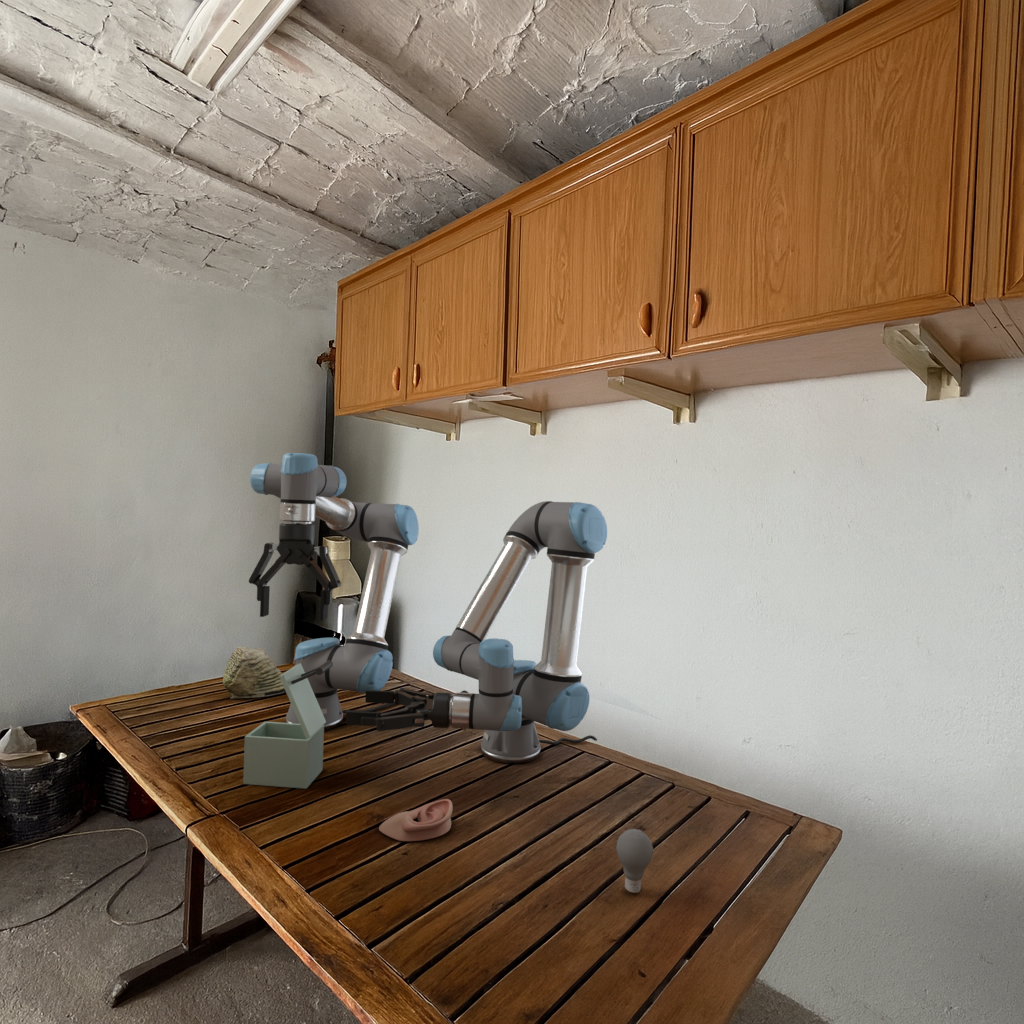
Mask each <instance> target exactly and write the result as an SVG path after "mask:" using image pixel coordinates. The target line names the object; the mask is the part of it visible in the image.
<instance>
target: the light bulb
mask: <svg viewBox="0 0 1024 1024" xmlns="http://www.w3.org/2000/svg"><path fill="white" fill-rule="evenodd" d="M615 849H616V854H617V857H618V859H619V861H620V863H621V865H622V867H623V873H624V874H623V875H624V876H625V878H624V888H625V890H627V891H628V892H630V893H634V894H635V893H639V892H640V891H641V889H642V887H641V886H642V879H643V877H644V875H645V871H646V868H647V867H648V866H649V864H650V863H651V861H652V859H653V855H654V847H653V843H652V841H651V838H649V836H648V835H647V834H646V833H645V832H643V831H642V830H641V829H636V828H629V829H627V830H625V831H623V832H622V833H621V834H620V835H619V837H618V839H617V841H616V847H615Z"/></svg>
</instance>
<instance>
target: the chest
mask: <svg viewBox="0 0 1024 1024" xmlns="http://www.w3.org/2000/svg"><path fill="white" fill-rule="evenodd" d="M324 740H325V731H324V725H323V726H322V727H321V728H320V729H319V730H317V731H316V732H315V733H314V734H313V735H312V736H311V737H310V738H308V739H306V737H305V735H304V733H303V730H302V728H301V726H300V724H295V723H286V722H278V721H263V722H262V723H261V724H260V725H258V726H257V727H256V728H254V729H252V731H250V732H249V733H248V734H246V735H245V736H244V747H243V748H244V753H243V775H242V776H243V778H242V779H243V781H242V784H243V785H251V786H267V787H279V788H292V789H294V788H295V789H308V788H309V786H310V785H311V784H312V783H313V782H314V781H315V780H316V779H317V777H318V776H319V775H320V774H321V773H322V771H323V767H324V743H325V742H324Z"/></svg>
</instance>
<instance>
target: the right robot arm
mask: <svg viewBox="0 0 1024 1024" xmlns="http://www.w3.org/2000/svg"><path fill="white" fill-rule="evenodd" d="M607 525H608V524H607V521H606V518H605V516H604V515H603V512H602V511H601V510H600V508H599V507H597V506H596V505H594V504H592V503H586V502H578V501H575V502H574V501H573V502H572V501H552V500H546V501H545V500H544V501H541V502H538V503H537V502H536V503H535V504H533V505H531V506H530V507H528V508H527V509H526V510H524V512H522V513H521V514H520V515H519V516H518V517H517V518H516V519H515V520H514V521H513V523H512V524H511V525H510V526H509V529H508V530H507V532H506V533H505V535H504V537H503V539H502V541H503V546H502V548H501V550H500V551H499V553H498V554H497V556H496V558H495V560H494V562H493V563H492V565H491V567H490V568H489V570H488V572H487V573H486V575H485V577H484V579H483V580H482V582H481V583H480V586H479V587H478V589H477V590H476V592H475V594H474V596H473V597H472V599H471V600H470V603H469V604H468V606H467V608H466V609H465V611H464V612H463V614H462V616H461V618H460V620H459V621H458V623H457V625H456V627H455V629H454V630H453V632H452V634H451V635H443V636H441V637H440V638H439V639H437V641H436V642H435V643H434V645H433V648H432V657H433V661H434V662H435V663H436V665H437V666H439V667H441V668H443V669H446V670H447V671H449V672H453V673H457V674H460V675H463V676H466V677H468V678H472V679H475V680H478V693H473V692H472V693H471V692H468V693H460V692H455V693H451V692H445V691H443V692H441V691H436V692H435V693H427V692H424V691H418V690H414V689H409V688H406V687H400V688H399V689H397V690H380V691H378V690H366V693H365V703H366V704H388V703H389V704H393V703H394V701H395V704H394V706H397V705H402V706H403V707H404V708H401V709H396V710H391V711H387V712H381V711H379V710H375V711H371V712H363V711H347V712H346V713H345V714H346V715H345V718H346V719H345V721H346V722H345V723H346V726H365V727H368V726H369V727H375V728H376V731H377V732H383V731H384V732H385V731H391V730H399V729H407V728H423V727H425V721H431V725H432V727H433V728H434V729H449V728H450V727H451V728H452V729H459V730H462V731H464V732H465V731H467V730H478V731H479V730H481V731H484V733H483V737H482V739H481V742H480V753H481V755H482V756H483V757H485V758H486V759H488V760H490V761H494V762H496V763H502V764H511V765H513V764H514V765H515V764H524V763H529V762H533V761H535V760H537V759H538V758H539V757H540V756H541V744H547V745H551V746H558V745H559V744H560V743H561V742H567V743H571V744H581V743H583V742H585V741H587V740H589V739H591V740H593V741H595V742H596V741H598V738H597V737H595V736H594V735H585V736H584V737H582V738H580V739H579V738H578V739H572V738H571V739H570V738H566V737H561V738H559V739H558V740H557V741H551V740H546V739H539V734H538V731H537V726H536V724H535V723H538V724H541V725H543V726H546V727H547V728H549V729H552V730H558V731H561V732H568V731H571V730H573V729H575V728H576V727H578V726H579V724H580V723H581V721H583V719H584V718H585V716H586V714H587V712H588V709H589V704H590V699H591V698H590V692H589V689H588V687H587V686H586V685H585V684H583V683H582V676H583V672H582V670H580V668H579V667H578V665H577V663H578V654H579V645H580V635H581V627H582V619H583V618H582V617H583V609H584V599H585V592H586V591H585V590H586V581H587V573H588V567H589V566H590V565H591V564H592V563H594V561H595V555H596V553H599V552H600V551H602V549H604V546H605V545H606V542H607V539H608V526H607ZM543 549H546V556H547V557H548V559H549V560H550V561H551V569H550V577H549V587H548V594H547V595H548V597H547V605H546V614H545V620H544V621H545V623H544V631H543V638H542V639H543V640H542V650H541V657H540V661H539V662H538V663H537V662H536V661H533V660H526V659H515V658H514V645H513V644H512V642H511V641H510V640H508V639H505V638H504V639H503V638H496V637H495V638H487V637H488V636H489V634H490V632H491V630H492V629H493V627H494V625H495V623H496V621H497V620H498V618H499V616H500V614H501V613H502V611H503V609H504V607H505V605H506V604H507V602H508V600H509V598H510V597H511V594H512V593H513V591H514V589H515V588H516V586H517V584H518V582H519V580H520V579H521V578H522V575H523V574H524V572H525V570H526V568H527V566H528V564H529V563H530V562H531V560H534V559H536V558H537V556H538V555H539V553H540V551H542V550H543Z"/></svg>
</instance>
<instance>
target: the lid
mask: <svg viewBox="0 0 1024 1024" xmlns="http://www.w3.org/2000/svg"><path fill="white" fill-rule="evenodd" d="M332 666H333V662H332V661H330V660H328V661H327V662H325V663H324V664H322V665H321V666H319V667H317V668H315V669H313V670H310V671H308V672H306V673H305V672H304V669H303V667H302V665H301V663H300V664H298V665H296V666H295V665H294V666H292V667H291V668H289V669H288V670H286V671H285V672H283V673H282V675H280V676H279V677H280V679H281V682H282V684H283V686H284V689H285V691H284V692H285V694H286V695H287V698H288V700H289V702H290V704H291V705H292V707H293V709H294V712H295V714H296V716H297V719H298V721H299V723H300V726H301V728H302V730H303V733H304V735H305V737H306V739H308V738H310V737H311V736H312V735H313V734H314V733H315V732H316V731H317V730H319V729H320V728H321V727H322V726H323V725H324V724H325V723H326V720H325V718H324V716H323V713H322V711H321V709H320V706H319V704H318V702H317V699H316V697H315V695H314V693H313V690H312V688H311V686H310V683H309V681H308V679H307V678H309V677H311V676H313V675H315V674H317V675H321V674H322V673H324V672H325V671H327V670H328V669H329V668H331V667H332Z"/></svg>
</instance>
